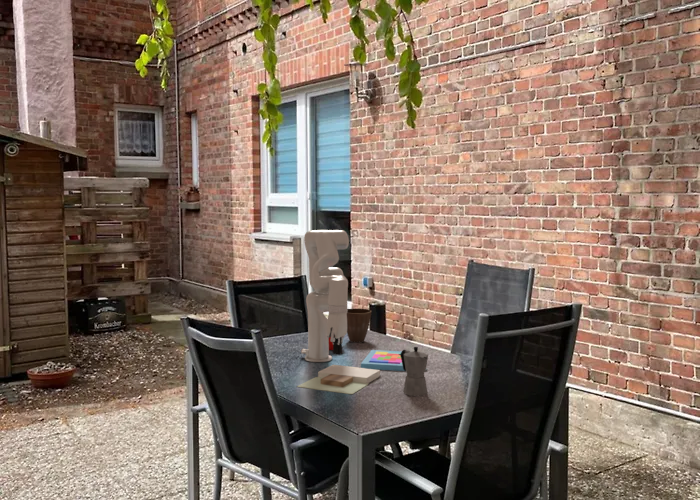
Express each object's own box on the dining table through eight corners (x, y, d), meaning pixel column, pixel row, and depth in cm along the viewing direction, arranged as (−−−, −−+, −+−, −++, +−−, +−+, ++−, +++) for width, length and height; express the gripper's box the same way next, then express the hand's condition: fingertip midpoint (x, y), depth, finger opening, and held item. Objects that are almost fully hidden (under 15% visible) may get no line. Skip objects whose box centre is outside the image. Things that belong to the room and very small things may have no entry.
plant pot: (371, 344, 357) (371, 313, 355) (342, 344, 357) (342, 313, 356) (370, 338, 371) (371, 308, 370) (342, 338, 372) (343, 308, 370)
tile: (320, 383, 280) (320, 379, 280) (330, 378, 288) (330, 373, 288) (342, 387, 276) (342, 382, 275) (352, 381, 284) (352, 376, 283)
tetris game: (360, 369, 306) (424, 373, 301) (360, 363, 306) (424, 366, 301) (371, 355, 334) (430, 358, 328) (371, 349, 334) (430, 352, 328)
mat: (297, 386, 276) (297, 386, 276) (316, 377, 291) (316, 376, 291) (352, 394, 266) (352, 393, 266) (368, 384, 281) (368, 383, 281)
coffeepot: (436, 395, 266) (436, 348, 265) (417, 399, 261) (417, 351, 259) (410, 386, 279) (410, 341, 277) (391, 389, 273) (391, 344, 272)
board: (318, 377, 291) (318, 371, 290) (333, 370, 303) (333, 364, 303) (366, 384, 281) (366, 377, 281) (380, 376, 294) (380, 370, 294)
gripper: (337, 305, 288) (337, 348, 290) (321, 311, 275) (320, 357, 277) (354, 306, 285) (353, 350, 287) (338, 313, 272) (337, 359, 274)
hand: (337, 353), depth 282 cm, fingers closed
